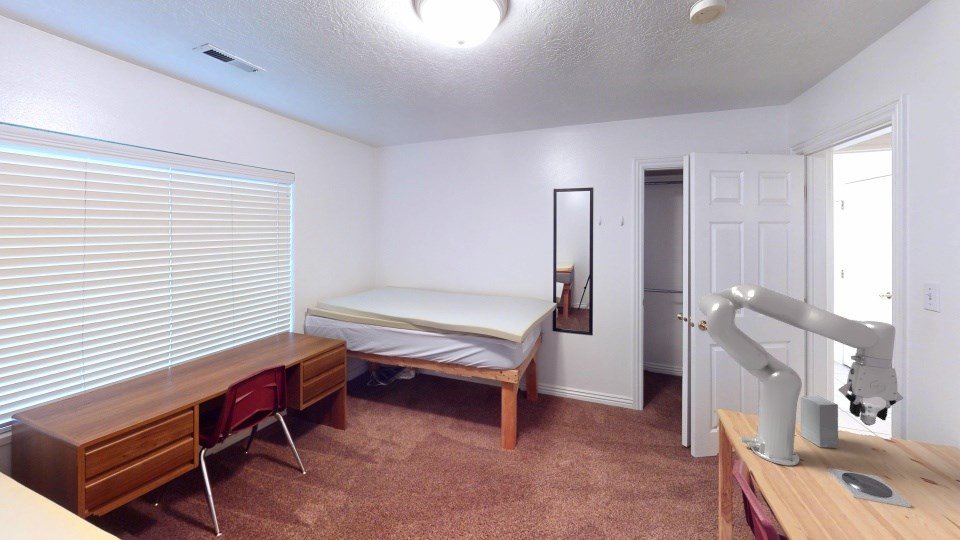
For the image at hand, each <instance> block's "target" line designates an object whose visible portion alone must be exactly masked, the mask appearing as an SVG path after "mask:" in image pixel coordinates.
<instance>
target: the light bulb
mask: <svg viewBox="0 0 960 540" xmlns="http://www.w3.org/2000/svg"><path fill="white" fill-rule="evenodd" d="M855 397H856V395H855ZM859 405H860V406H861V409H860V418H859V420H860V421H861V422H862V423H863V424H864V425H866V426H868V427H869V426H873V425H874V424H876V421H877V418H878V417H877V416H878V414H879V412H880V411H881V410H883V409H884V408H885V407H886V405H887V400H884V399H882V398H881V397H872V398H863V397H861V398H860V402H859Z"/></svg>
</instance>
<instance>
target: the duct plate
mask: <svg viewBox="0 0 960 540" xmlns="http://www.w3.org/2000/svg"><path fill="white" fill-rule="evenodd" d="M827 472H828V473H829V474H830V475H831V476H832V478H834V479H835V480H836V481H837V483H839V484H840V485H841V486H842V487H843V488H844V489H845V490H846V491H847V492H848V493H849V494H850V495H851V496H852V497H853V498H855V499H861V500H867V501H873V502H879V503H882V504H883V503H884V504H887V505H889V504H890V505H894V506H900V507H904V508H911V505H912V504H911V503H910V502H909V501H907V500H906V498H905V497H904V496H902V495H900V494H899V493H898V492H897V491H896V490H895V489H894V488H892V487H891V486H890V485H889V484H888V483H886V482H885V481H884V480H883V479H881V477H879V476H878V475H872V474H866V473H860V472H853V471H848V470H842V469H836V468H830V467H827Z"/></svg>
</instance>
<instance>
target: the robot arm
mask: <svg viewBox="0 0 960 540" xmlns="http://www.w3.org/2000/svg"><path fill="white" fill-rule="evenodd" d="M698 308H699V310H700V312H701V313H702V315H705V316H706V322H705V323H706V324H705V326H706V331H707V333H708V335H709V337H710V338H711V339H712V340H713V342H715V343H716V344H717V345H718V346H719V347H720V348H721V349H722V350H724V351H725V352H726V354H727V355H728V356H729V358H731V359H732V360H734V361H735V362H736V363H737V364H738V365H740V366H741V367H742V368H744V369H745V370H746V371H747V372H748V373H750V374H751V376H753V377H755V378H756V379H757V380H758V381H759V382H761V384H763V388H762V391H761V392H760V397H759V402H758V403H759V404H758V407H759V408H758V422H757V434H754V435H753V437H752V436H751V437H745V436H740V437H739V441H740V443H744V444H747V446H748V447H750V448H751V450H752V452H753V453H754V454H755V455H757V457H758V456H759V457H760V458H762V459H764V460H766V461H767V462H768V461H769V462H770V463H775V464H777V465H781V466H782V465H783V466H796V465H798V464H799V463H800V457H799V455H798V454H797V453H796V452H794V450H795V449H794V448H795V437H796V435H795V434H796V425H797V409H798V402H799V397H800V396H801V395H800V394H801V391H802V387H803V381H802V379H801V376H800V375H799V374H798V373H797V371H796V370H795V369H793V368H792V367H791V366H789V365H787V364H786V363H784V362H782V361H780V360H779V359H777V358H776V356H775V357H774V355H772V354H770V352H768V351H767V349H766V348H765V347H764V346H763V345H761V344H760V343H759V342H758V341H756V340H755V339H752V338H751V337H750V336H748V334H746V333H745V332H744V331H743V330H741V329H740V328H739V327H738V326H737V325H736V322H735V321H736V320H735V319H736V314H737V313H736V311H737V310H740V309H744V308H745V309H747V310H749V311H752V312H755V313H757V314H760V315H763V316H766V317H769V318H771V319H773V320H775V321H778V322H781V323H783V324H786V325H789V326H792V327H794V328H797V329H800V330H804V331H807V332H809V333H810V332H811V333H813V334H816V335H819V336H822V337H823V338H827V339H830V340H832V341H835V342H837V343H841V344H842V345H845V346H848V347H850V348H853V349H856V353H855V355H851V356H850V360H852V361H853V362H852V364H851V366H850V367H849V370H848V371H849V372H848V375H847V379H846V380H847V381H846V384H844V385H843V386H841V387H839V388H838V390H837V391H838V392H840V394H842V395H843V396H844V397H845V398H846V399H847V401H849V408H848V409H849V412H850V414H852V415H853V416H855V417H856V418H859V417H860V415H861V413H860V409H861V406H860V405H859V402H860V398H861V397H863V398H872V397H881V398H882V399H884V400H887V405H886V407H885V408H884V409H883V410H881V411H880V412H879V414H878V416H877V417H876V418H879V419H880V420H882V421H886V419H887V417H888V411H889V409H891V406H894V405H895V404H896V403H897V402H900V401H902V400H904V397H903V396H902V395H901V394H900V393H899V392H898V376H897V372H896V371H897V370H896V368H894V367H892V366H893V356H894V348H895V340H896V339H895V338H896V327H895V326H894V325H893V324H891V323H888V322H883V321H875V320H865V321H863V320H854V319H850V318H847V317H845V316H841V315H838V314H835V313H832V312H830V311H828V310H824V309H822V308H820V307H818V306H815V305H813V304H810V303H809V302H805V301H803V300H799V299H798V298H794V297H791V296H789V295H785V294H783V293H780V292H777V291H775V290H772V289H768V288H767V287H763V286H761V285H760V286H759V285H758V284H757V285H756V284H752V283H742V284H737V285H734V286H731V287H728V288H724V289H720V290H716V291H712V292H710V293H706V294H705V295H703V296H702V297H701V298H700V299H699V302H698ZM849 392H850V393H849ZM855 395H856V397H855Z"/></svg>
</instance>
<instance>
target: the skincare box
mask: <svg viewBox="0 0 960 540" xmlns="http://www.w3.org/2000/svg"><path fill="white" fill-rule="evenodd" d="M800 436H801V437H802V438H804V439H806V440H807V441H809V442H810V443H812V444H813V445H815V446H817V447H818V448H834V449H838V447H839V404H838V403H835V402H833V401H832V400H828V399H827V398H824V397H821V396H820V395H800Z"/></svg>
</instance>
